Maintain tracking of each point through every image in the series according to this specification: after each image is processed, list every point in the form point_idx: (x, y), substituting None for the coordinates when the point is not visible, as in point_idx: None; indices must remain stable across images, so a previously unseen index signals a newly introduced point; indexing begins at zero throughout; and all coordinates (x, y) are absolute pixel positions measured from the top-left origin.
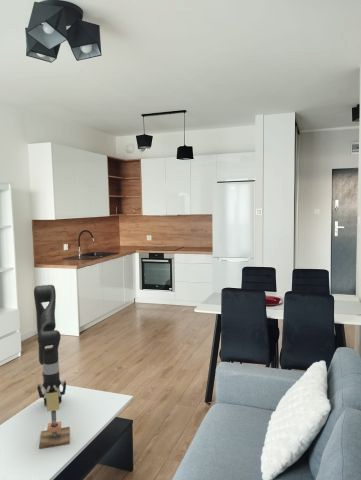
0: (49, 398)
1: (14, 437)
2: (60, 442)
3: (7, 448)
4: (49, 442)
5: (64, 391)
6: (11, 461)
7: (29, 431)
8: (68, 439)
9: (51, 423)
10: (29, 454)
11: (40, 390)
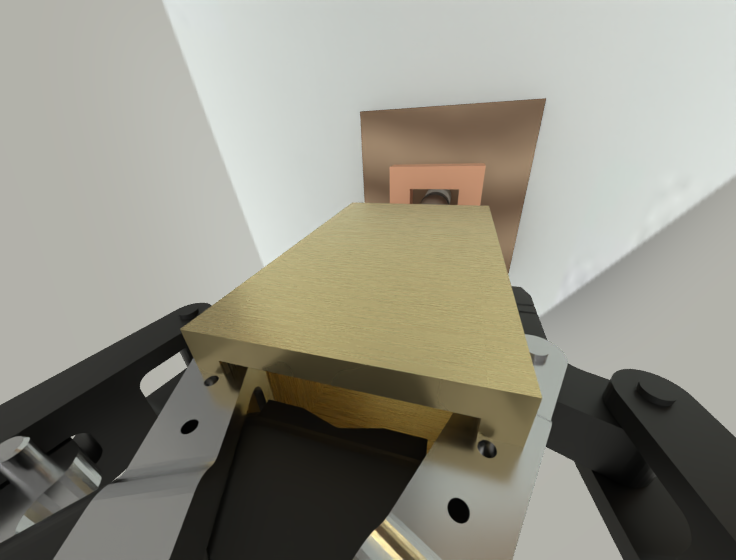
0: (342, 416)
1: (243, 111)
2: None
3: (249, 203)
4: None
5: (655, 531)
6: None
7: (296, 58)
8: (507, 255)
9: (413, 179)
10: None
11: (112, 478)
